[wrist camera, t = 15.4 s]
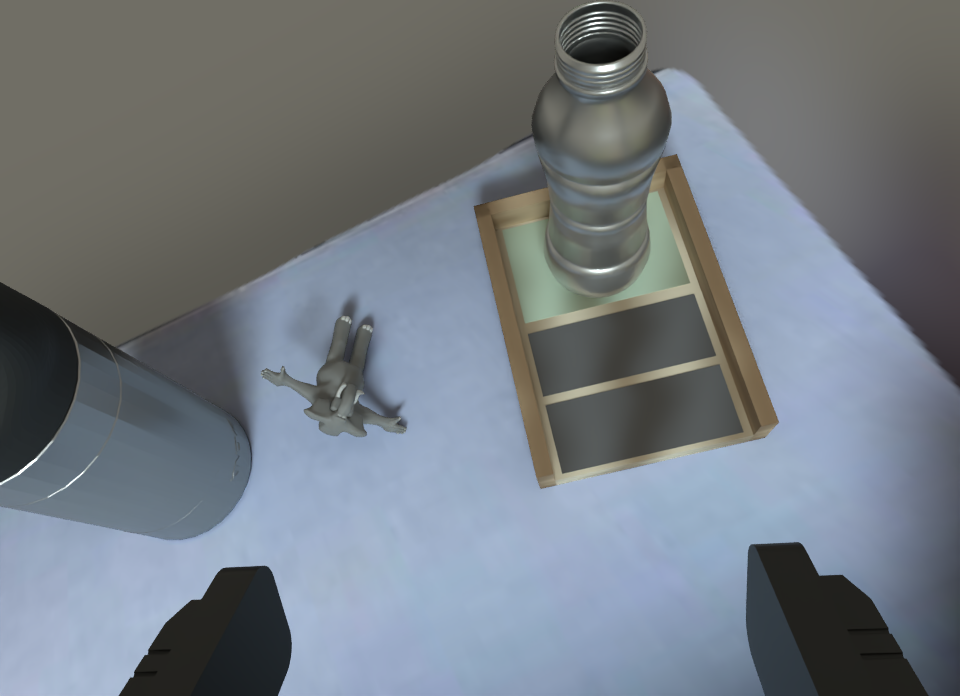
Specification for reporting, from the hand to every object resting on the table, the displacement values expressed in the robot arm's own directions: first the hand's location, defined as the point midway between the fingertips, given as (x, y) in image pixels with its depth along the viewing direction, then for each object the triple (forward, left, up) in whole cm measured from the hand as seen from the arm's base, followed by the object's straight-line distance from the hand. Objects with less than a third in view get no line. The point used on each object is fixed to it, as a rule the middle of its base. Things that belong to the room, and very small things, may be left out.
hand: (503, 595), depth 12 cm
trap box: (+7, +16, -31) cm, 36 cm away
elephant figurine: (-11, +17, -32) cm, 38 cm away
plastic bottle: (+7, +21, -30) cm, 37 cm away
